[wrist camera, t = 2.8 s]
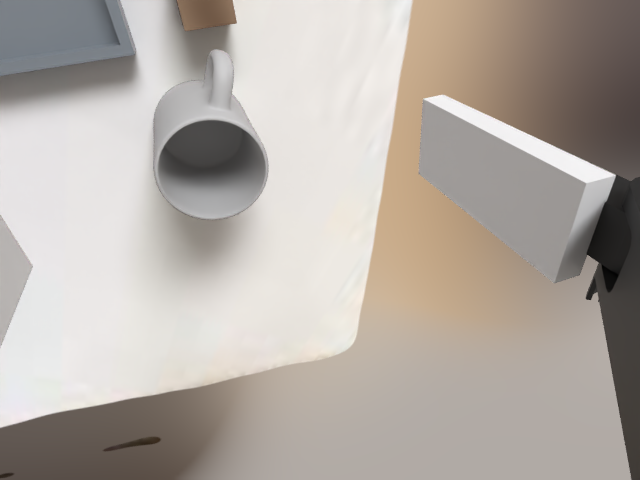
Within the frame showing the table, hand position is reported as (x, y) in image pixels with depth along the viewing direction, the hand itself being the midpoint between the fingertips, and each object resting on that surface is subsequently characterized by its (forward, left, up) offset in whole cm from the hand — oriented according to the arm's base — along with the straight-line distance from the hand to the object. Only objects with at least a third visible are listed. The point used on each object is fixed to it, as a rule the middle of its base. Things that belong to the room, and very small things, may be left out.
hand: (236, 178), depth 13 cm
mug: (0, -6, -29) cm, 29 cm away
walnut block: (+2, +3, -29) cm, 29 cm away
